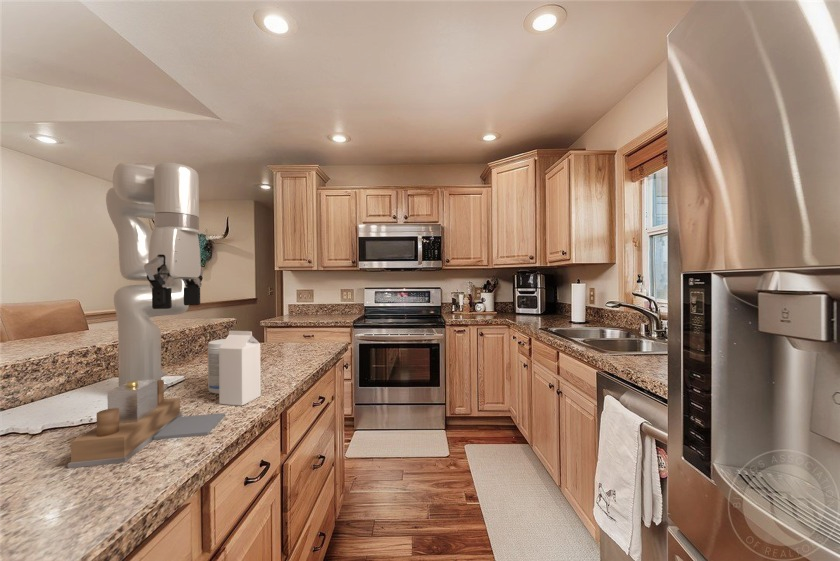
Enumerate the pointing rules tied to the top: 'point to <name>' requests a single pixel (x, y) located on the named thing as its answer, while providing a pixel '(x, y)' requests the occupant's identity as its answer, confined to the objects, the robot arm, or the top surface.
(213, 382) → the supplement tub
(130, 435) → the body
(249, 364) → the milk carton
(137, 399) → the grey block with knob
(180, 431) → the mat
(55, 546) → the top surface
